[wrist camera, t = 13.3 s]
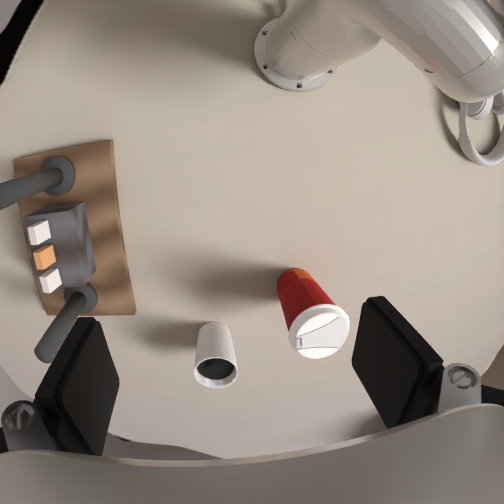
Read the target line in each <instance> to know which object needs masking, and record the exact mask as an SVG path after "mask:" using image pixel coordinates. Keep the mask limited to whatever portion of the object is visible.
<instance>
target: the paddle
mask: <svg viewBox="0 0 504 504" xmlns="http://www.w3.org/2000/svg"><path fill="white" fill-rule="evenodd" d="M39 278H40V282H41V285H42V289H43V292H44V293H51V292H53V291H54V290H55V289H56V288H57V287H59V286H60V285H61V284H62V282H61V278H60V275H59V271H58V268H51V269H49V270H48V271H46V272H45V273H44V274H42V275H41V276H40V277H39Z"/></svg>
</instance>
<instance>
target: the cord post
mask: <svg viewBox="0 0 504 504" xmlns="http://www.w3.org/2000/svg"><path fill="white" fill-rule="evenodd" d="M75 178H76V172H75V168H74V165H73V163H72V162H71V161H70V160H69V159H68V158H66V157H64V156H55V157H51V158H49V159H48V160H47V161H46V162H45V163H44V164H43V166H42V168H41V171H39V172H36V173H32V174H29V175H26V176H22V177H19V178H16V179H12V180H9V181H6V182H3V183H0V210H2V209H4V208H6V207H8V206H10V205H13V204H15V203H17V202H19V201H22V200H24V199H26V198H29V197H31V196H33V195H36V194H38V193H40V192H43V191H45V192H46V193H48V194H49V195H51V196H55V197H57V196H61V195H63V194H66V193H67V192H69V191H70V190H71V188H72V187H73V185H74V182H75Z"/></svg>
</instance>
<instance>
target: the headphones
mask: <svg viewBox="0 0 504 504" xmlns="http://www.w3.org/2000/svg"><path fill="white" fill-rule="evenodd" d="M458 103H459V106H460V112H459V131H460V133H459V136H460V137H458V139H459V146H460V148H461V150H462V151H463V153H464V154H465V155H466V157H468V158H469V159H470V160H471V161H473V162H474V163H475V164H477V165H481V166H494V165H497V164H499V163H500V162H501V161H502V160H503V159H504V125H503V128H502V131H501V134H500V137H499V139H498V142H497V144H496V146H495V147H494V148H493V150H492V151H491V152H489V153H488V154H486V155H480V154H479V153H478V152H477V151H476V149H475V147H474V146H473V143H472V141H471V139H470V136H469V134H468V129H467V123H466V116H469V117H471V118H473V119H475V120H480V119H482V118H484V117H486V116H487V115H488V113H489V112H490V110H491V111H492V112H493V113H495V114H497V115H503V114H504V90H503V91H501V92H500V93H498V94H496V95H495V96H493V97H491V98H489V99H486V100H483V101H480V102H475V103H464V102H460V101H458Z"/></svg>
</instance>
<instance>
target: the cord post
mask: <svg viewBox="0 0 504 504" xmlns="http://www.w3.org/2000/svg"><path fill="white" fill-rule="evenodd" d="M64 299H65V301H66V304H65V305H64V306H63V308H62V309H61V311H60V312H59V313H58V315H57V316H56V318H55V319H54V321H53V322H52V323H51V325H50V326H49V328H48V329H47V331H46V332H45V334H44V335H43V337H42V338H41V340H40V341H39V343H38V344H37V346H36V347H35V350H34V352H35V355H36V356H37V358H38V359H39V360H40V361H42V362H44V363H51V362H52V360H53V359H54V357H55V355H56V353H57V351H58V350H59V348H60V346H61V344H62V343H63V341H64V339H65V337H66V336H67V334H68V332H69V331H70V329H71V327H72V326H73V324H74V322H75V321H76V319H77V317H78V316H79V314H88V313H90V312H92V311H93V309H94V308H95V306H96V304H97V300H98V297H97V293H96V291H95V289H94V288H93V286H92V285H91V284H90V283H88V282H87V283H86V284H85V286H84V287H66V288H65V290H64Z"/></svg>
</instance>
